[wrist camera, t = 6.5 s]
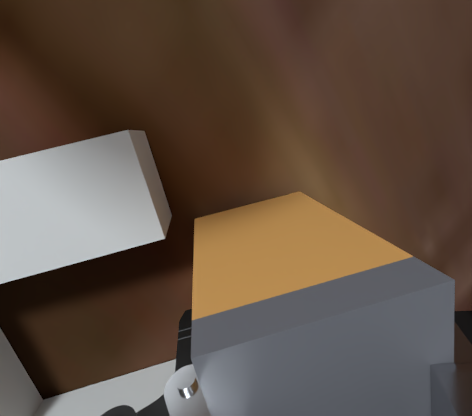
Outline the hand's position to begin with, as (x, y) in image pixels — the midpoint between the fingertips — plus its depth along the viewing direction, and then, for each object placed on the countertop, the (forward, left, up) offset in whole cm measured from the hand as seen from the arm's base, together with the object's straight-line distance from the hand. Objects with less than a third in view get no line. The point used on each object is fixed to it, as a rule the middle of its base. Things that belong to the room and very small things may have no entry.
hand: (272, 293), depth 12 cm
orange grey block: (0, 0, -2) cm, 2 cm away
